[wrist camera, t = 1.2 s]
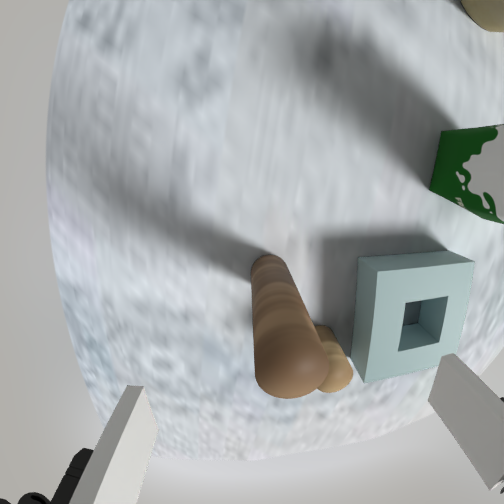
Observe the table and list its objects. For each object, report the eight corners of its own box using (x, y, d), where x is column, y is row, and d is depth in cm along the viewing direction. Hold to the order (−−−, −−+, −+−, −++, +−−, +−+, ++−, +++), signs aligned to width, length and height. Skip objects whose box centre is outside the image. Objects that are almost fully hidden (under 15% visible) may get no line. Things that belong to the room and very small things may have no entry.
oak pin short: (301, 326, 30) (315, 364, 24) (334, 323, 30) (355, 358, 24) (301, 355, 31) (313, 394, 24) (332, 351, 31) (350, 389, 24)
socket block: (357, 257, 29) (377, 271, 24) (448, 250, 29) (474, 261, 24) (350, 357, 31) (363, 383, 27) (433, 341, 31) (453, 361, 27)
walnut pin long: (249, 255, 29) (252, 342, 13) (287, 253, 29) (331, 336, 13) (252, 291, 29) (256, 401, 14) (288, 289, 29) (326, 394, 14)
